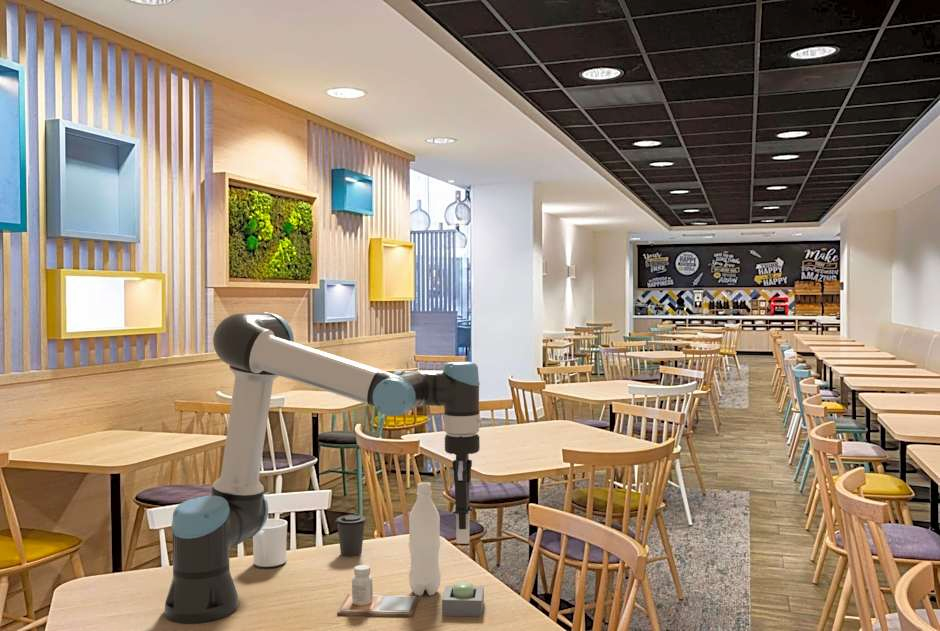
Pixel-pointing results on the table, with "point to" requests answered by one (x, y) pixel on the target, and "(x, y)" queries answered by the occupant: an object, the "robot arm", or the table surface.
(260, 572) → the table surface
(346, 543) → the coffee cup
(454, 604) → the button housing
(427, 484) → the water bottle
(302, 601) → the table surface
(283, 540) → the mug
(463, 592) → the button
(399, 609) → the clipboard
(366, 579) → the pill bottle
